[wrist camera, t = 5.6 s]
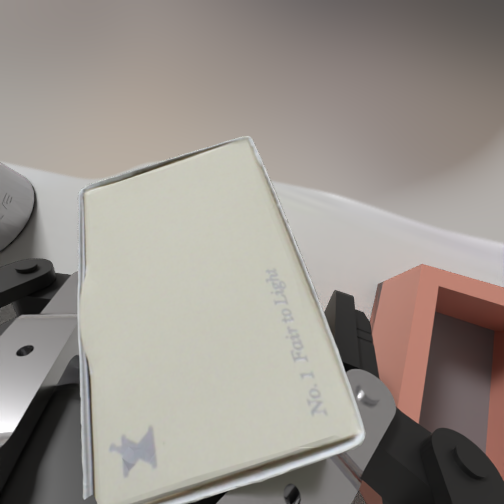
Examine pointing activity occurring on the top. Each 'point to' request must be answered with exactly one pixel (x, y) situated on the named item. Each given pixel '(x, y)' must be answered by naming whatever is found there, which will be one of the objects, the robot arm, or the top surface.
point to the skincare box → (200, 335)
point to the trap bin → (443, 355)
